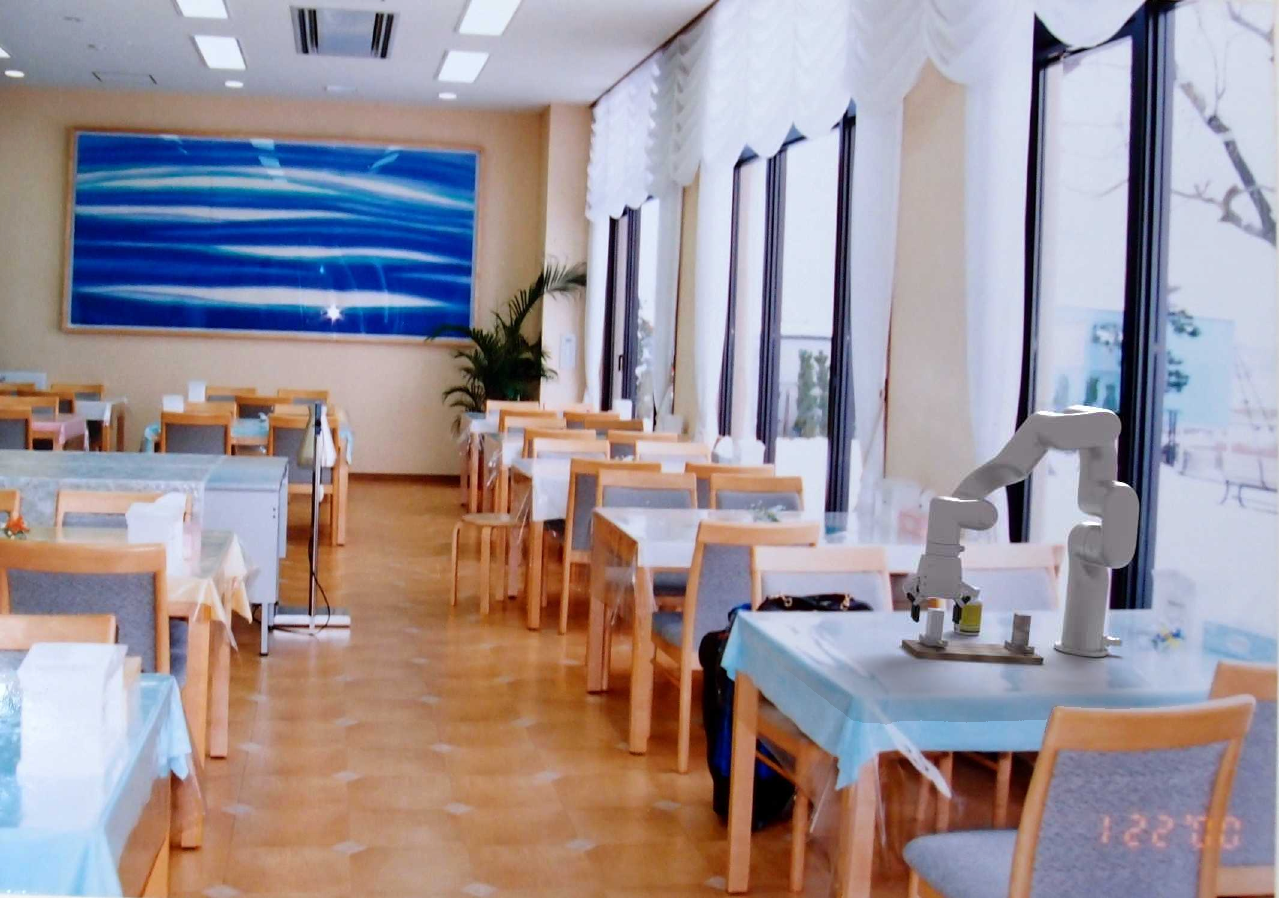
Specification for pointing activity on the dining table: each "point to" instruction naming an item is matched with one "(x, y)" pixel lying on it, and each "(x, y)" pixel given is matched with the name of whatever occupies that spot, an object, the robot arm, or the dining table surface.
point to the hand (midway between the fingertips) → (935, 621)
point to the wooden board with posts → (984, 647)
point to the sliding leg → (934, 629)
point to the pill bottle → (970, 615)
